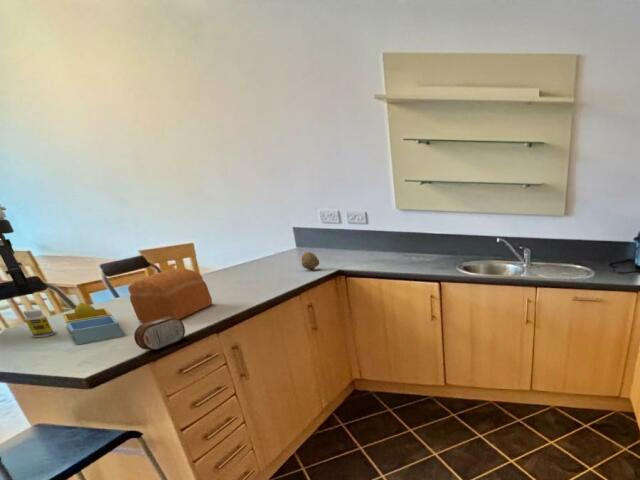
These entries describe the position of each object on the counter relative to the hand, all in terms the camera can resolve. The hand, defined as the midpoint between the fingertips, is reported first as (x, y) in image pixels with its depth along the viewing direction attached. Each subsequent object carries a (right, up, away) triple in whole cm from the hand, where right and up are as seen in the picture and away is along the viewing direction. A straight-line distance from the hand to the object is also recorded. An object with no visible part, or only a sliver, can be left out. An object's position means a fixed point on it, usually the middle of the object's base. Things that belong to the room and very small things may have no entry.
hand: (25, 290), depth 132 cm
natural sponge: (+40, +36, +106) cm, 119 cm away
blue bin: (+17, -14, +6) cm, 23 cm away
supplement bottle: (-1, -14, +6) cm, 15 cm away
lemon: (+7, -9, +14) cm, 18 cm away
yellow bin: (+7, -10, +14) cm, 18 cm away
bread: (+25, -2, +30) cm, 39 cm away
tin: (+45, -18, 0) cm, 49 cm away
